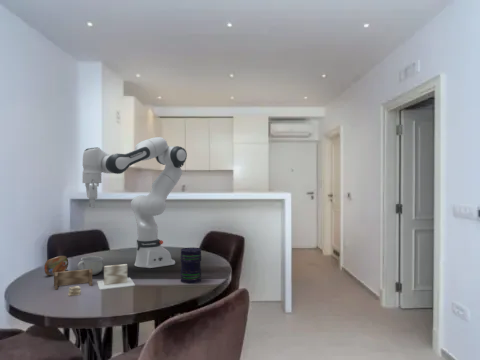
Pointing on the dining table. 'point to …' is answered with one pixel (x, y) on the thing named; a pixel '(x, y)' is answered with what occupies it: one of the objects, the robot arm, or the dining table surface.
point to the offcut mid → (75, 292)
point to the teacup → (91, 264)
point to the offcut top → (74, 288)
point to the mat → (118, 285)
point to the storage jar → (190, 265)
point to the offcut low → (73, 295)
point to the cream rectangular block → (115, 274)
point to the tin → (56, 265)
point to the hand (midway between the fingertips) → (91, 207)
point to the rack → (72, 277)
